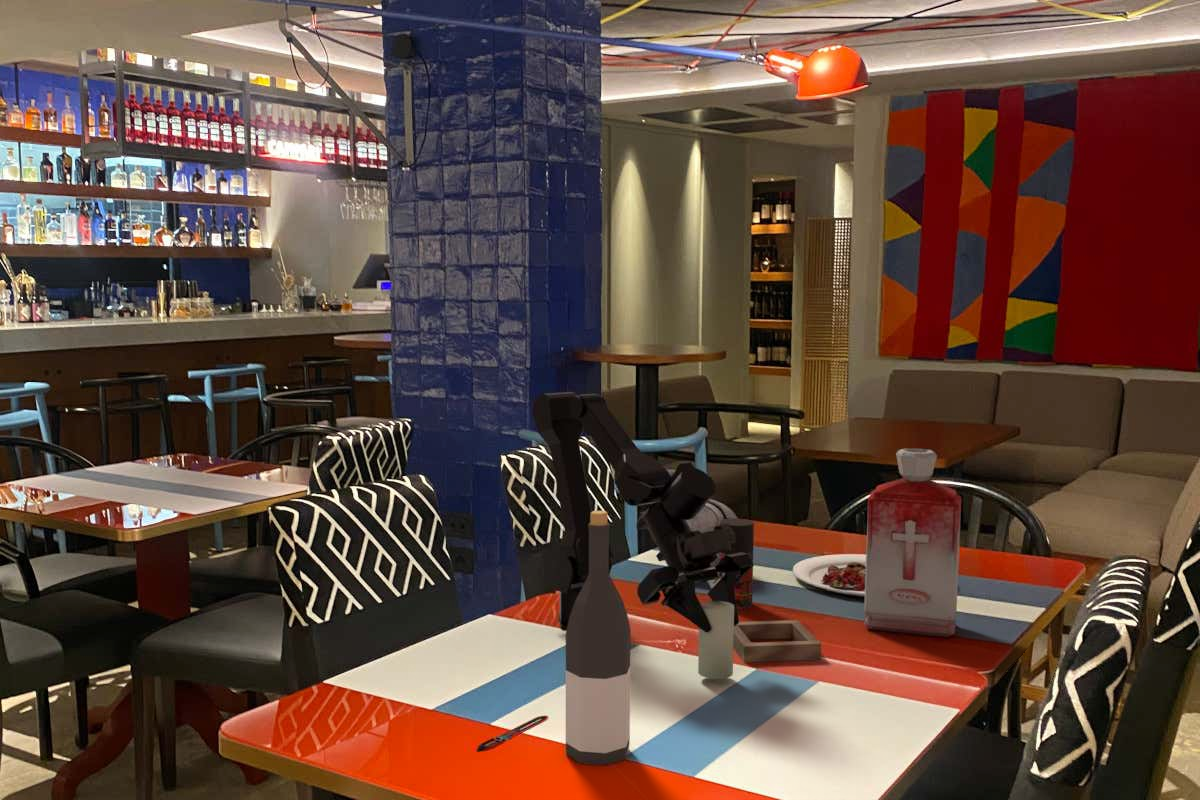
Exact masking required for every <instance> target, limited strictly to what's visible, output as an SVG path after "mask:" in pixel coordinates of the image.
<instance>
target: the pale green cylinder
mask: <svg viewBox="0 0 1200 800" xmlns="http://www.w3.org/2000/svg"><path fill="white" fill-rule="evenodd" d="M700 604H701V606H702V608H703V610H704V612H705V614H706V616H707V618H708V620H709V623H710V625H711V628H712V629H711V630H710V631H709V632H708V633H706V632H705V631H703V630H702V629H700V628H699V627H698V659H697V661H698V663H697V664H698V667H697V668H698V672H697V673H698V674H699V676H701V677H703V678H706V679H712V680H713V679H714V680H722V679H728V678H730V677H732V676H733V675H734V648H733V643H734V605H733V604H731V603H729V602H724V601H712V600H707V601H702V602H700Z"/></svg>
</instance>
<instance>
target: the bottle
mask: <svg viewBox="0 0 1200 800" xmlns="http://www.w3.org/2000/svg"><path fill="white" fill-rule="evenodd" d="M895 455H896V460H897V465H898V466H897V467H898V473H899V474H900V476H901V477H902V478H899V479H895V480H892V481H889V482H886V483H882V484H879V485H877V486H876V487H875V489H874V490H872V491H871V493H870V494H869V495H868V499H867V515H866V516H867V520H866V525H867V526H866V547H865V549H866V550H865V554H866V576H865V597H864V610H863V611H864V613H865V615H866V618H865V621H864V622H863V625H864V626H866V627H867V628H868V629H869V630H873V631H874V630H875V631H885V632H891V633H892V632H893V633H903V634H910V635H911V634H912V635H919V636H920V635H922V636H932V637H940V638H950V637H952V636H953V635H954V634H955V633H956V625H957V620H956V616H957V609H958V607H957V605H958V589H959V588H958V585H959V583H958V582H959V562H960V558H959V556H960V536H961V535H960V534H961V512H962V511H961V510H962V496H960V495H959V494H958V493H957V490H955V489H954V488H950V487H948V486H946V485H943V484H941V483H938V482H936V481H934V480H931V479H930V478H931V477H932V476H933V474H934V469H935V465H936V462H937V458H938V454H936V452H935V451H933V450H932V449H924V448H902V449H898V451H897V452H896V453H895Z"/></svg>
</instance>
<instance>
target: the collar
mask: <svg viewBox="0 0 1200 800" xmlns="http://www.w3.org/2000/svg"><path fill="white" fill-rule="evenodd" d="M777 639H778V640H779V639H792V641H769V642H766V641H765V642H751V641H754V640H777ZM733 650H735V652H736V653H737V654H738V656H739V657H740V659H741V660H742V661H743V663H757V662H759V663H762V662H764V663H766V662H784V661H785V662H787V661H788V662H790V661H793V662H795V661H815V660H816V661H819V660H821V654H822V643H821V641H819V640H818V639H817V638H816V637H815V636H814V635H813V633H811V632H810V631H809V630H808V629H807V628H806V627H805V626H804V625H803V623H801V621H800V620H799V619H796V620H795V619H794V620H793V619H792V620H791V619H788V620H761V621H760V620H759V621H739V623H738V624H737V625H736V626H734V643H733Z"/></svg>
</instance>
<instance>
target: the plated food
mask: <svg viewBox="0 0 1200 800" xmlns="http://www.w3.org/2000/svg"><path fill="white" fill-rule="evenodd" d="M792 573H793V576H794V577H796V578H797V579H798V580H800V581H802V582H803V583H805V584H808V585H811V586H813V587H817V588H819V589H824V590H827V591H830V592H834V593H838V594H843V595H847V596H855V597H860V598H861V597H862V598H865V576H866V553H865V554H864V553H863V554H862V553H859V554H858V553H856V554H855V553H846V554H845V553H844V554H843V553H841V554H840V553H839V554H830V555H826V554H825V555H820V556H815V557H810V558H806V559H803V560H801V561H798V562H797V563H796V564H794V565H793V568H792Z"/></svg>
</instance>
